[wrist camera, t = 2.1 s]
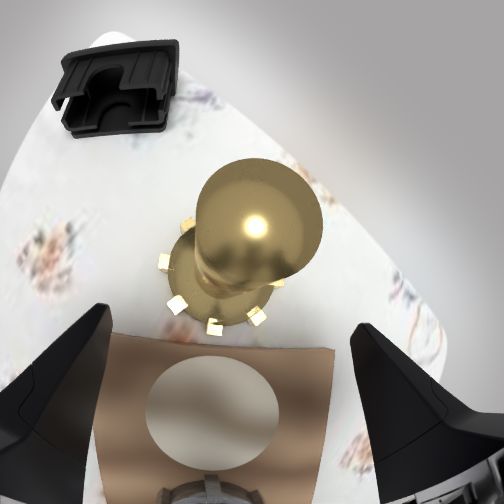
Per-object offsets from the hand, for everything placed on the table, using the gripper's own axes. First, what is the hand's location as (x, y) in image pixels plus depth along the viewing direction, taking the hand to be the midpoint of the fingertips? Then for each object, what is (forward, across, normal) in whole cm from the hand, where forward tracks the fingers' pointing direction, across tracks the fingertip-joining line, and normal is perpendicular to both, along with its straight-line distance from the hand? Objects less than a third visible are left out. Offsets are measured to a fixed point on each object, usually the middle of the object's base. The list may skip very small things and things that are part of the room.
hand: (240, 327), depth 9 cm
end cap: (+20, +11, -5) cm, 23 cm away
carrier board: (-1, 0, +15) cm, 15 cm away
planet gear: (+9, 0, +5) cm, 11 cm away
